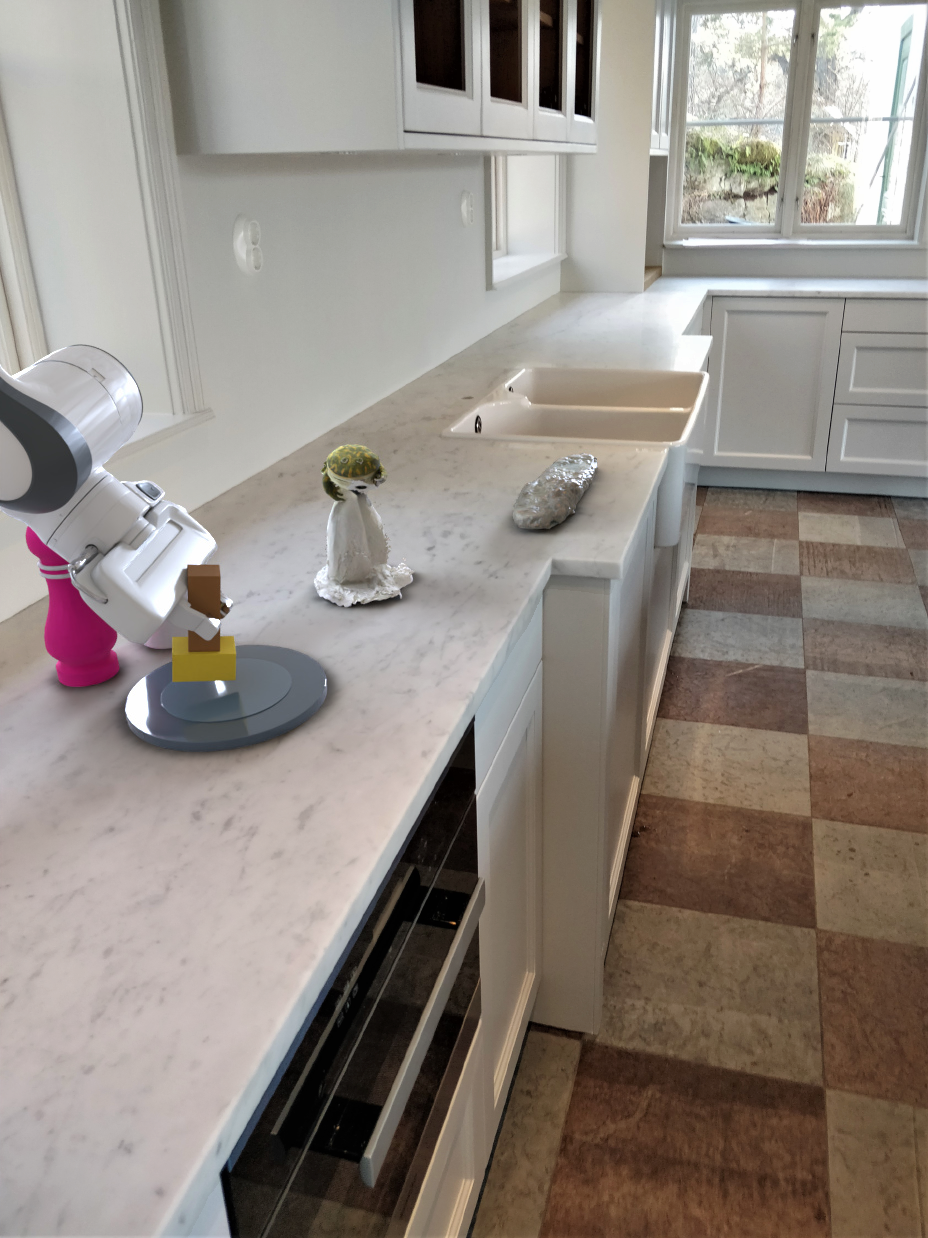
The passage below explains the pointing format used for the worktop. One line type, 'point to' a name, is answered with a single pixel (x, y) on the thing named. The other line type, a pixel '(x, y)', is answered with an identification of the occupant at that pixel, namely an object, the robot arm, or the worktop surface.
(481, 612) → the worktop surface
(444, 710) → the worktop surface
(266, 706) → the plate
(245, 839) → the worktop surface
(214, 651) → the sponge brush
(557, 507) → the elongated rock
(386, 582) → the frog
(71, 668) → the pepper mill
